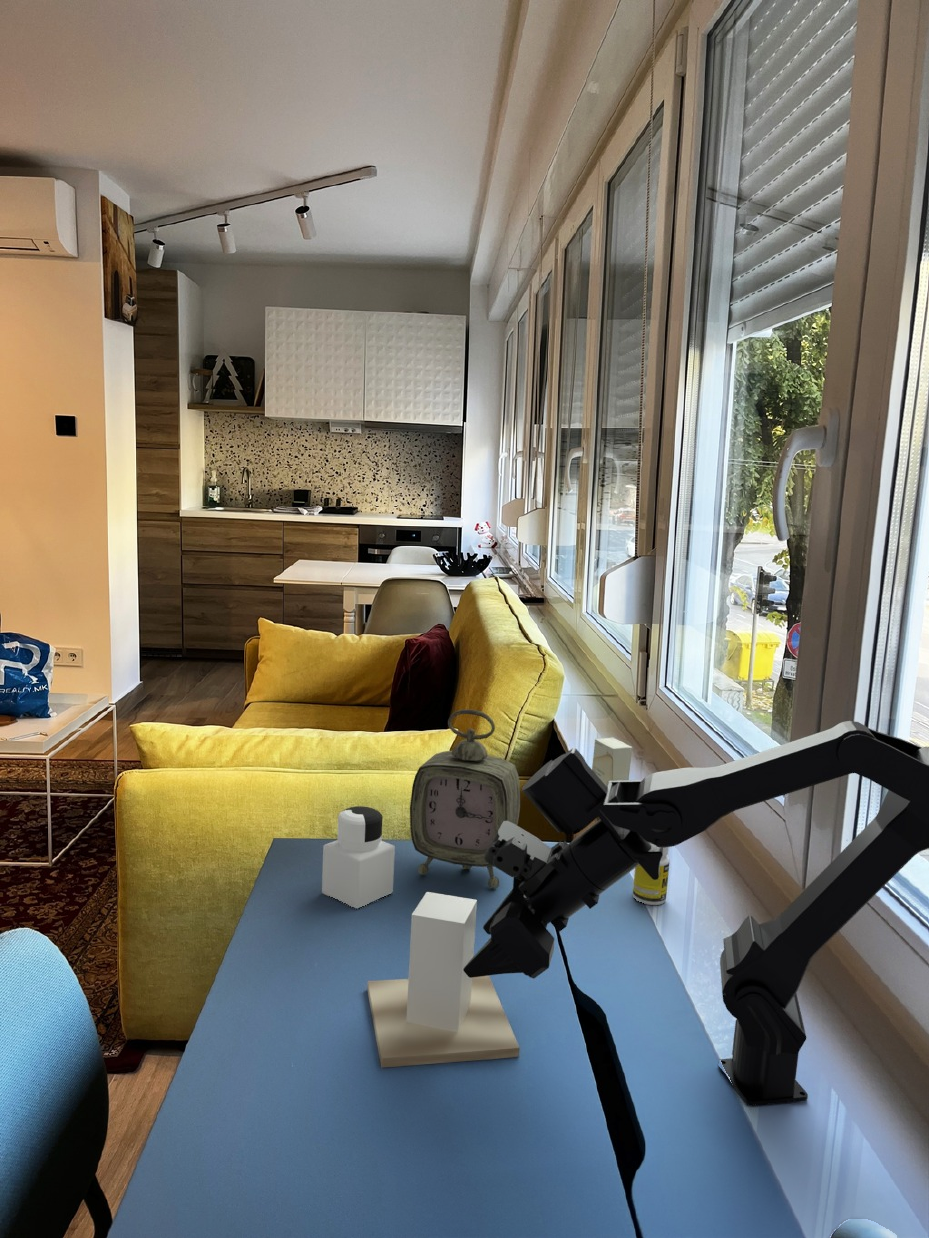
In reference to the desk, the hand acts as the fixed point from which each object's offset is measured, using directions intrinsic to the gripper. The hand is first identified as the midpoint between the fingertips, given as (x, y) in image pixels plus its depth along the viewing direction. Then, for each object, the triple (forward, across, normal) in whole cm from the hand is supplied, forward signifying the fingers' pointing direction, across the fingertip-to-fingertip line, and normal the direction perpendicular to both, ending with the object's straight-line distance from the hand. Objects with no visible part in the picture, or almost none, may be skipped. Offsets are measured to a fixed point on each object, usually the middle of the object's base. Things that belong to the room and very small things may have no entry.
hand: (476, 950), depth 96 cm
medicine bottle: (+22, -26, -10) cm, 35 cm away
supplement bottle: (-6, -38, +18) cm, 43 cm away
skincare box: (+1, -74, +12) cm, 75 cm away
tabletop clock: (+13, -37, -1) cm, 39 cm away
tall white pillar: (+8, 0, +3) cm, 9 cm away
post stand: (+9, 0, +4) cm, 9 cm away
